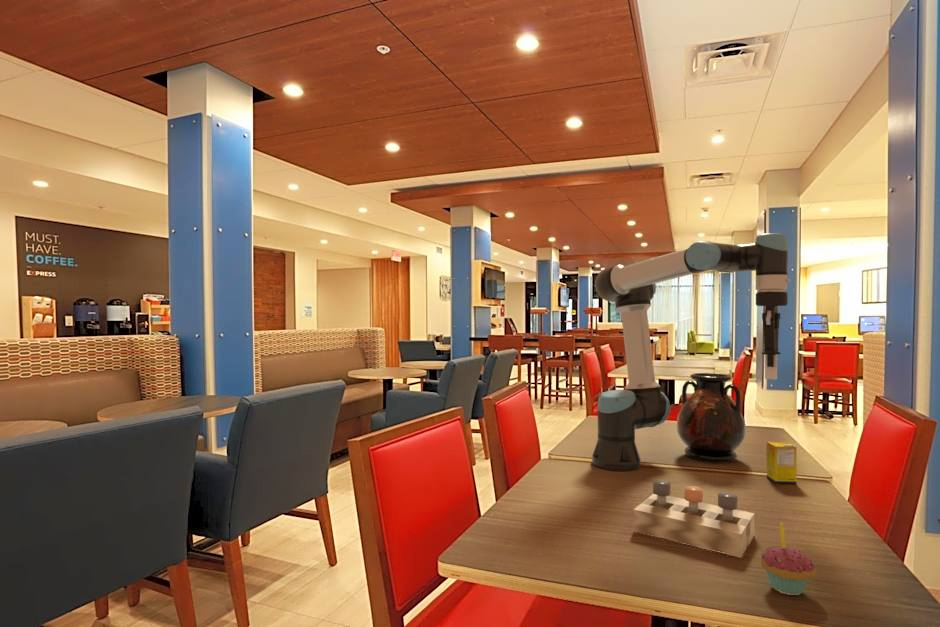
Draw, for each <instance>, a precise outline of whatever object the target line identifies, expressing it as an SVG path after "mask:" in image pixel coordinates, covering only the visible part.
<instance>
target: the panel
mask: <svg viewBox="0 0 940 627" xmlns="http://www.w3.org/2000/svg"><path fill="white" fill-rule="evenodd" d="M634 531H637V532H640V533H639V534H641V533H645V534H649V535H653V536H657V537H662V538H666V539H670V540H674V541H678V542H682V543H686V544H690V545H694V546H699V547H703V548H707V549H711V550H715V551H720V552H725V553H729V554H733V555H736V556H742V555H743V553H744V551H745V550H746V548H747V546H748V545H749V543H750V541H751V540H752V541H753V539H754V537H755V512H749V511H747V510H746V511H745V510H741V509H736V510H733V520H731V521H729V520H724V519H723V508H720V507H719V506H718V505H715V504H711V503H707V502H706V503H705V502H700V503H698V513H691V512H689V501H686V500H685V499H684V498H681V497H676V496H671V495H669V496H666V506H659V505H657V495H656V494H654V493H653V494H650V496H649V497H647V498H646V499H645V500H643V501H642V502H641V503H640V504H638V505H637V506H636V507H634V509H633V532H634ZM637 532H636V533H637ZM645 534H644V535H645ZM649 535H648V536H649ZM653 536H652V537H653ZM753 536H754V537H753ZM752 538H753V539H752ZM752 541H751V542H752ZM750 544H751V543H750ZM749 546H750V545H749ZM749 546H748V547H749ZM747 549H748V548H747ZM746 551H747V550H746ZM744 554H745V553H744ZM743 556H744V555H743Z"/></svg>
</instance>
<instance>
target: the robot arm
mask: <svg viewBox="0 0 940 627" xmlns="http://www.w3.org/2000/svg"><path fill="white" fill-rule="evenodd" d="M788 248H789V246H788V237H787V235H786V234H784V233H780V232H778V233H777V232H776V233H775V232H772V233H771V232H769V233H763V234H759V235H756V237H755V242H753V243H747V244H746V243H744V244H729V243H723V242H721V243H720V242H713V241H710V240H709V241H708V240H704V241H701V240H699V241H695V242H693V243H692V244H691V245H690V246H688V247H687V248H683V249H681V250H677V251H673V252H670V253H667V254H663V255H660V256H655V257H653V258H648V259H646V260H642V261H640V262H634V263H631V264H628V265H625V266H624V265H623V264H618V265H614V266H610V267H607V268H604V269H602V270H600V272H599V273H598V274H597V275H596V278H595V282H594V288H595V292H596V293H597V295H598V296H599V298H601V299H602V300H604V301H606V302H610V303H615V310H617V311H618V312H619V313H620V316H621V326H622V333H623V342H624V351H625V359H626V368H627V378H628V383H627V385H626V386H625V387H624V389H616V390H615V389H612V390H611V389H610V390H607V391H604V392H602V393H600V394H599V396H598V398H597V441H596V444H595V446H594V450H593V453H592V457H591V461H592V462H591V463H592V465H593V466H595V467H597V468H600V469H603V470H604V469H605V470H610V471H620V472H621V471H622V472H623V471H625V472H626V471H633V470H634V471H635V470H638V469H641V466H642V464H641V463H642V461H641V457H640V453H639V449H638V447H637V444H636V430H639V429H645V428H654V427H657V426H660V425H662V424H664V422H666V421H667V419H668V418H669V416H670V413H671V404H670V400H669V397H667V396H666V394H665V393H664V392H662V390H661V389H662V388H661V385H660V384H659V383H658V382H657V381H656V379H655V378H656V376H655V370H654V369H655V368H654V362H653V360H654V359H653V353H652V343H651V336H650V327H649V326H650V325H649V324H650V323H649V318H648V317H649V316H648V310H649V309H650V307H651V306H652V302H651V300H652V299H654V297H655V295H656V291H657V284H658V283H662V282H665V281H666V282H667V281H670V280H671V281H672V280H674V279H677V278H682V277H686V276H690V275H695V274H699V273H703V272H707V271H717V272H718V273H734V272H747V271H755V290H756V291H757V292H756V293H755V306H757V307H764V312H762V314H761V315H762V316H761V319H762V329H763V351H762V352H761V355H764V365H765V366H764V379H765V380H777V379H778V355H781V351H779V334H780V333H779V332H780V331H779V329H780V320H781V312H779V310H778V308H779V307H786V306H787V305H788V304H789V303H788V301H789V300H788V292H786V290H787V289H788V283H790V282H791V279H790V278H788V252H789V249H788Z"/></svg>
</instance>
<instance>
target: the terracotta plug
mask: <svg viewBox="0 0 940 627" xmlns="http://www.w3.org/2000/svg"><path fill="white" fill-rule="evenodd" d="M683 495H684V496H683V497H684V498H683V499H685V500H686V501H689V512H691V513H698V503H700V502H701V503H704V502H703V501H704V490H703V488H702V487H699V486H695V485H694V486H693V485H692V486H691V485H688V486H684V494H683Z"/></svg>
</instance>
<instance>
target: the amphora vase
mask: <svg viewBox="0 0 940 627" xmlns="http://www.w3.org/2000/svg"><path fill="white" fill-rule="evenodd" d="M689 377H690V379H692V380H687V381H685V382H684V384H683V385H682V390H681V400H682V401H681V403H682V406H681V409H680V410H679V412H678V414H677V419H676V431H677V434H678V437H679V438H680V439H681V441H682V442H683V444H685V446H686V447H685V448H684V454H685V455H686V456H687V457H689V458H691V459H693V460H696V459H697V461H700V460H701V462H705V461H708V462H707V463H714V462H725V463H730V462H733V461H736V459H737V458H738V453H737V452H736V450H737V449H738V448H740V446H741V444H742V443H743V442H744V441H745V438H746V435H747V434H746V433H747V427H746V421H745V418H744V416H743V414H742V407H741V406H742V403H741V402H742V396H741V395H742V394H741V390H740V388H739V387H738V386H737V385H735V384H727V386H726V383H727V382H730V381H732V376H731V375H729V374H723V373H714V372H713V373H712V372H698V373H697V372H695V373H692V374H690V376H689ZM689 385H691V386H692V387H693V389H694V390H693V391H694V392H693V393H692V394H691V395H690V396H689V397H688V396H687V394H688V393H687V390H688V386H689ZM729 389H733V390H734V392H735V397H736V399H735V401H734V400H733V399H732V397H730V396H729V394H728V391H729Z"/></svg>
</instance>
